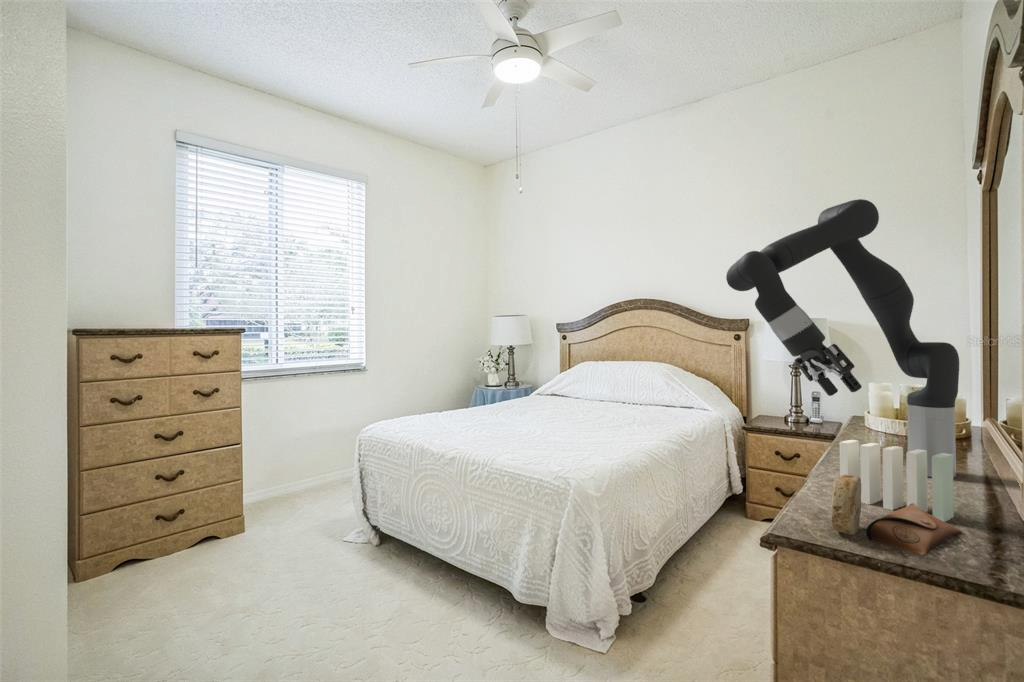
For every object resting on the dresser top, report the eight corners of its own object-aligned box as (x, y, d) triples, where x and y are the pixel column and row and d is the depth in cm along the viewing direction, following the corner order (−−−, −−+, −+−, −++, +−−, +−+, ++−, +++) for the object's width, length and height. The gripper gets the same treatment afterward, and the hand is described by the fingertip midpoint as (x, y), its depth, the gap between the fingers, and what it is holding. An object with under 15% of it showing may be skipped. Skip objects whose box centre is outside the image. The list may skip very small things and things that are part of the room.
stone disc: (840, 521, 93) (841, 468, 93) (864, 526, 90) (865, 472, 90) (826, 536, 85) (827, 479, 85) (852, 543, 83) (853, 483, 83)
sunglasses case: (928, 556, 77) (901, 513, 80) (883, 565, 82) (858, 524, 85) (964, 531, 87) (938, 493, 90) (922, 540, 92) (899, 505, 95)
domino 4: (907, 513, 96) (906, 452, 96) (917, 509, 99) (917, 449, 99) (917, 516, 95) (916, 453, 95) (927, 511, 98) (926, 450, 98)
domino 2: (861, 502, 103) (860, 445, 103) (872, 498, 106) (871, 442, 106) (869, 504, 102) (868, 446, 102) (880, 500, 104) (880, 443, 105)
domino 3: (883, 508, 100) (882, 448, 100) (894, 503, 102) (893, 445, 102) (892, 510, 98) (891, 450, 99) (903, 505, 101) (902, 447, 101)
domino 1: (840, 497, 107) (839, 442, 107) (851, 493, 109) (850, 439, 109) (848, 499, 105) (847, 443, 105) (859, 495, 108) (859, 440, 108)
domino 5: (932, 519, 93) (931, 456, 93) (943, 514, 96) (942, 452, 96) (943, 522, 92) (942, 457, 92) (953, 517, 94) (952, 454, 94)
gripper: (827, 313, 102) (881, 378, 99) (794, 328, 116) (840, 386, 113) (797, 332, 102) (850, 399, 99) (767, 345, 116) (813, 403, 113)
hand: (845, 392), depth 106 cm, fingers open, 8 cm apart
